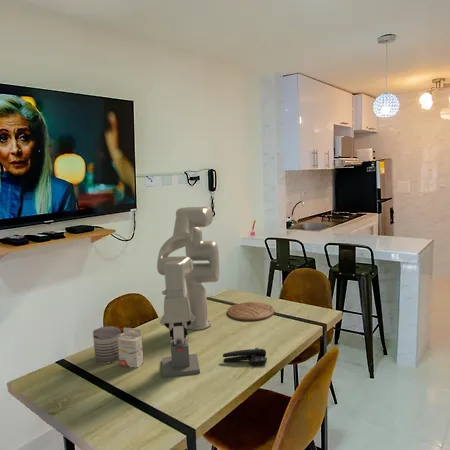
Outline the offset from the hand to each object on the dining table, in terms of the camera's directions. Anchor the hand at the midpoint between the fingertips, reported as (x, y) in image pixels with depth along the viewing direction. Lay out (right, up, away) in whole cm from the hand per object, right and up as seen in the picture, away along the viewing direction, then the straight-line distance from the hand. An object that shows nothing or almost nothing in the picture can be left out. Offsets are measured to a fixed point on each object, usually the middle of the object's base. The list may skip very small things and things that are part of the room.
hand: (178, 337), depth 164 cm
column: (0, -11, +2) cm, 11 cm away
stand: (+1, -12, +2) cm, 12 cm away
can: (-31, -12, +13) cm, 36 cm away
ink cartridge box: (-20, -13, +6) cm, 24 cm away
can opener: (+26, -11, +4) cm, 29 cm away
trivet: (+32, -3, +59) cm, 67 cm away
